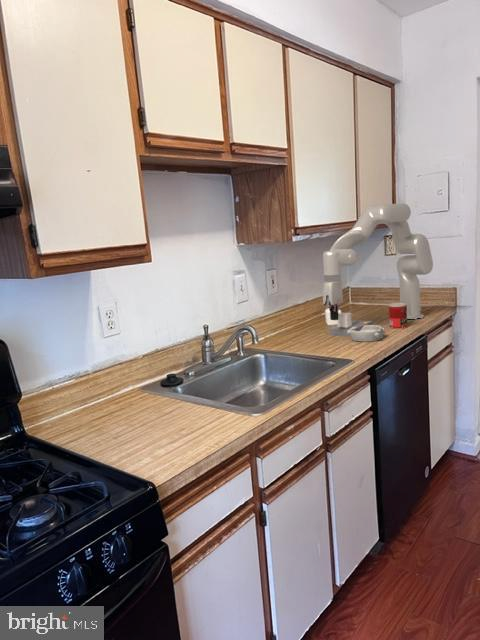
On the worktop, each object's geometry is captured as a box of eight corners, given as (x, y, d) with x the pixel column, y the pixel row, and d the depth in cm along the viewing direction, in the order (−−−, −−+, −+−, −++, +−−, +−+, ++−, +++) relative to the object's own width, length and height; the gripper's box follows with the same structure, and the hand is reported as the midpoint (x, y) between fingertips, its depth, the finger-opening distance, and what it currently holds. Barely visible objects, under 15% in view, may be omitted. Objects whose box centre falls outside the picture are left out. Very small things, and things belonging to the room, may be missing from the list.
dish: (344, 341, 206) (343, 330, 205) (361, 334, 215) (360, 323, 215) (374, 344, 196) (374, 332, 195) (390, 337, 205) (390, 326, 204)
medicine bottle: (342, 324, 240) (340, 301, 238) (328, 325, 241) (326, 302, 239) (339, 321, 247) (338, 299, 245) (325, 322, 248) (324, 300, 246)
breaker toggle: (342, 325, 221) (341, 312, 220) (351, 325, 218) (350, 313, 217) (337, 326, 219) (336, 314, 217) (347, 327, 215) (346, 314, 214)
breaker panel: (350, 325, 235) (349, 319, 234) (372, 327, 227) (372, 321, 226) (329, 334, 220) (328, 328, 219) (352, 336, 212) (352, 329, 212)
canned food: (404, 329, 217) (403, 305, 215) (387, 328, 222) (386, 305, 220) (409, 325, 223) (408, 302, 221) (392, 325, 228) (392, 302, 226)
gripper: (333, 277, 216) (335, 316, 219) (316, 280, 205) (318, 322, 208) (348, 277, 211) (350, 317, 214) (331, 280, 200) (333, 323, 203)
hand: (334, 319), depth 211 cm, fingers closed
